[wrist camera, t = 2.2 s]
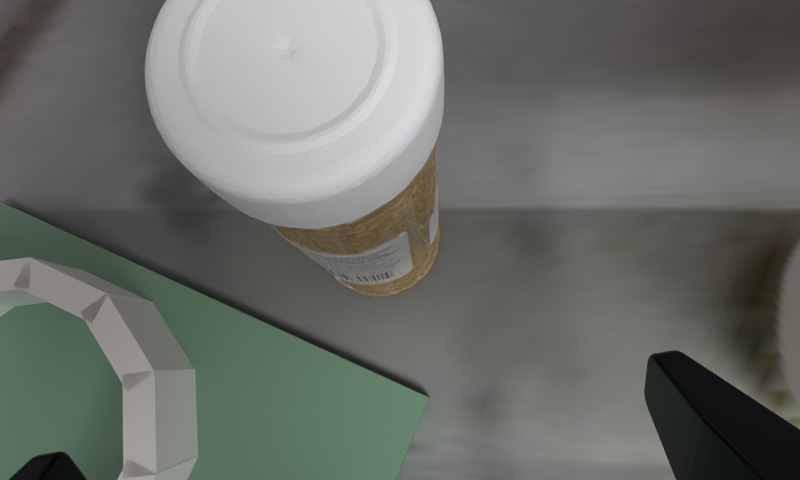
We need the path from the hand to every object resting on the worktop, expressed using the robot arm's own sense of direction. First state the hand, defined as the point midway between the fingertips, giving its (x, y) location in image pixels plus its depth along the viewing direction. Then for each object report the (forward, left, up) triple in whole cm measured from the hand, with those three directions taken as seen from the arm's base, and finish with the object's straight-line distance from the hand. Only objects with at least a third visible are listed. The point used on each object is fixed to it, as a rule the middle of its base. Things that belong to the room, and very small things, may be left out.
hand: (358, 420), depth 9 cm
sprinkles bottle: (+3, -5, -12) cm, 13 cm away
